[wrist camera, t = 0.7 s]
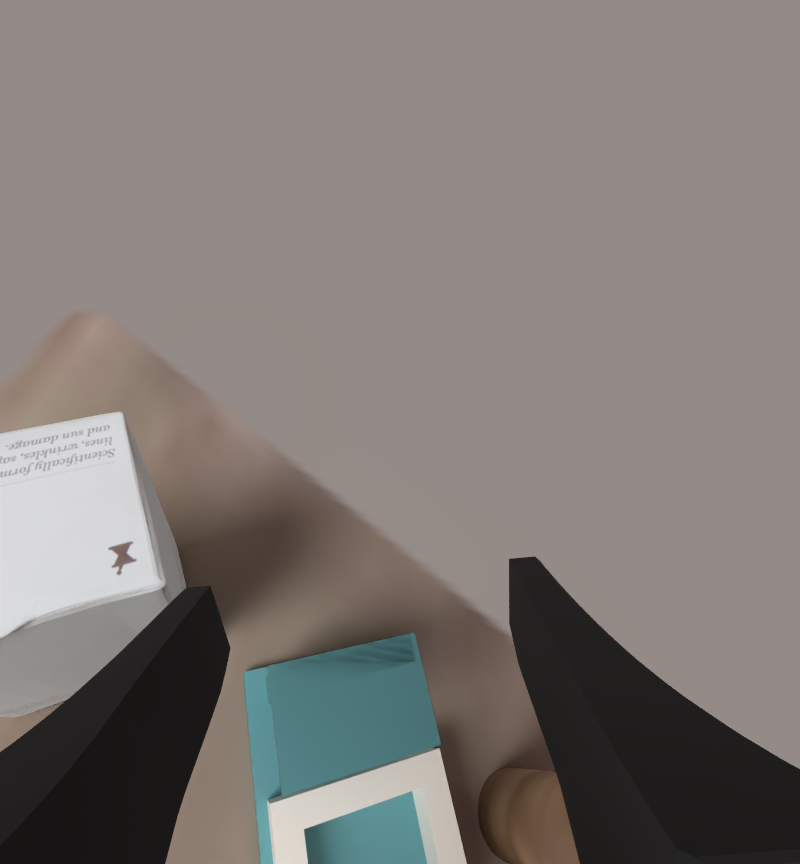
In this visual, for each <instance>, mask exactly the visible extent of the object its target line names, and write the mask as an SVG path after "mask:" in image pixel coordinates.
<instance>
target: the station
mask: <svg viewBox="0 0 800 864" xmlns="http://www.w3.org/2000/svg"><path fill="white" fill-rule="evenodd" d="M243 674H244V685H245V696H246V707H247V718H248V730H249V741H250V752H251V763H252V774H253V786H254V797H255V808H256V819H257V830H258V841H259V853H260V864H467V862H466V858H465V854H464V850H463V845H462V841H461V837H460V833H459V828H458V824H457V820H456V816H455V812H454V807H453V803H452V799H451V795H450V790H449V786H448V782H447V778H446V773H445V769H444V765H443V761H442V757H441V752H440V748H433V747H436V746H439V745H441V741H440V737H439V733H438V729H437V725H436V720H435V716H434V712H433V708H432V704H431V700H430V695H429V691H428V687H427V683H426V679H425V674H424V670H423V666H422V662H421V658H420V653H419V649H418V645H417V641H416V637H415V632H413V633H409V634H405V635H400V636H396V637H391V638H387V639H383V640H378V641H374V642H370V643H365V644H361V645H356V646H352V647H348V648H343V649H339V650H335V651H330V652H326V653H321V654H317V655H313V656H308V657H304V658H300V659H295V660H291V661H286V662H282V663H278V664H273V665H269V666H268V667H263V668H259V669H255V670H250V671H246V672H244V673H243Z"/></svg>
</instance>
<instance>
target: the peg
mask: <svg viewBox="0 0 800 864" xmlns="http://www.w3.org/2000/svg"><path fill="white" fill-rule="evenodd" d="M478 818H479V824H480V829H481V832H482V835H483V837H484V840H485V841H486V843H487V845H488V846H489V848H490V849H491V851H492V852H493V853H494V854H495V855H496V856H497V857H499V858H500V859H502V860H503V861H505V862H508V863H510V864H580V862H579V858H578V854H577V850H576V846H575V842H574V838H573V834H572V830H571V826H570V822H569V818H568V815H567V811H566V807H565V803H564V799H563V795H562V791H561V787H560V784H559V780H558V777H557V774H556V771H545V770H535V769H524V768H514V767H506V768H502V769H499V770H497V771H496V772H494V773H493V774H492V775H491V776H490V777H489V778H488V779H487V781H486V782H485V784H484V786H483V788H482V790H481V794H480V798H479V804H478Z"/></svg>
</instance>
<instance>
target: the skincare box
mask: <svg viewBox="0 0 800 864" xmlns="http://www.w3.org/2000/svg"><path fill="white" fill-rule="evenodd" d="M185 588H186V583H185V579H184V574H183V570H182V566H181V562H180V557H179V553H178V549H177V545H176V542H175V540H174V537H173V534H172V531H171V529H170V526H169V524H168V521H167V519H166V516H165V514H164V512H163V509H162V507H161V504H160V502H159V499H158V496H157V494H156V491H155V488H154V486H153V483H152V481H151V478H150V475H149V473H148V470H147V468H146V465H145V462H144V460H143V458H142V455H141V453H140V450H139V448H138V445H137V443H136V440H135V438H134V436H133V433H132V431H131V429H130V426H129V424H128V422H127V420H126V417H125V415H124V413H123V412H114V413H107V414H102V415H96V416H91V417H85V418H80V419H75V420H70V421H64V422H59V423H54V424H49V425H43V426H38V427H32V428H26V429H21V430H15V431H10V432H5V433H0V717H14V718H15V717H18V716H22V715H26V714H29V713H32V712H35V711H37V710H40V709H43V708H46V707H48V706H51V705H54V704H57V703H59V702H62V701H65V700H68V699H69V698H70V697H71V696H72V695H73V694H75V693H76V692H77V691H78V690H79V689H80V688H81V687H82V686H83V685H85V684H86V683H87V682H88V681H89V680H90V679H91V678H92V677H93V676H94V675H96V674H97V673H98V672H99V671H100V670H101V669H102V668H103V667H104V666H106V665H107V664H108V663H109V662H110V661H111V660H112V659H113V658H114V657H115V656H116V655H117V654H118V653H120V652H121V651H122V650H123V649H124V648H125V647H126V646H127V645H128V644H129V643H130V642H131V641H132V640H133V639H134V638H135V637H136V636H137V635H138V634H139V633H140V632H141V631H142V630H143V629H144V628H145V627H146V626H147V625H148V624H149V623H150V622H151V621H152V620H153V619H154V618H155V617H156V616H157V615H158V614H159V613H160V612H161V611H162V610H163V609H164V608H165V607H166V606H167V605H168V604H169V603H170V602H171V601H172V600H173V599H175V598H176V597H177V596H178V595H179V594H180V593H181V592H182V591H183V590H184V589H185Z"/></svg>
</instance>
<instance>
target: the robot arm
mask: <svg viewBox="0 0 800 864" xmlns="http://www.w3.org/2000/svg"><path fill="white" fill-rule="evenodd" d="M509 604H510V605H509V610H510V611H509V613H510V614H509V616H510V618H509V620H510V621H509V623H510V628H511V632H512V637H513V641H514V646H515V650H516V654H517V658H518V663H519V666H520V669H521V672H522V675H523V678H524V681H525V684H526V687H527V690H528V693H529V695H530V698H531V701H532V704H533V707H534V710H535V713H536V715H537V718H538V721H539V724H540V727H541V730H542V733H543V735H544V738H545V741H546V744H547V747H548V750H549V752H550V755H551V758H552V761H553V764H554V767H555V771H556V774H557V777H558V780H559V784H560V787H561V791H562V795H563V799H564V803H565V807H566V811H567V815H568V818H569V822H570V826H571V830H572V834H573V838H574V842H575V846H576V850H577V854H578V858H579V862H580V864H800V769H798V768H796V767H795V766H793V765H791V764H789V763H787V762H786V761H784V760H782V759H780V758H779V757H777V756H775V755H774V754H772V753H770V752H769V751H767V750H765V749H764V748H762V747H760V746H759V745H757V744H755V743H754V742H752V741H750V740H749V739H747V738H745V737H744V736H742V735H741V734H739V733H737V732H736V731H734V730H733V729H731V728H730V727H728V726H726V725H725V724H724V723H722V722H721V721H719V720H718V719H716V718H715V717H713V716H712V715H710V714H709V713H707V712H706V711H704V710H703V709H701V708H700V707H698V706H697V705H696V704H694V703H693V702H691V701H689V700H688V699H687V698H685V697H684V696H683V695H681V694H680V693H679V692H677V691H676V690H675V689H673V688H672V687H671V686H669V685H668V684H667V683H665V682H664V681H663V680H662V679H660V678H659V677H658V676H656V675H655V674H654V673H653V672H651V671H650V670H649V669H648V668H646V667H645V666H644V665H643V664H642V663H640V662H639V661H638V660H637V659H636V658H635V657H633V656H632V655H631V654H630V653H629V652H628V651H626V650H625V649H624V648H623V647H622V646H621V645H620V644H619V643H618V642H617V641H615V640H614V639H613V638H612V637H611V636H610V635H609V634H608V633H607V632H606V631H605V630H604V629H603V628H602V627H601V626H599V625H598V624H597V623H596V622H595V621H594V620H593V619H592V618H591V617H590V616H589V615H588V614H587V613H586V612H585V611H584V610H583V608H582V607H580V606H579V604H578V603H577V602H576V601H575V600H574V599H573V598H572V597H571V596H570V595H569V594H568V593H567V592H566V591H565V589H564V588H563V587H562V586H561V585H560V584H559V583H558V582H557V581H556V579H555V578H554V577H553V576H552V575H551V574H550V572H549V571H548V570H547V569H546V568H545V567H544V566H543V564H542V563H541V562H540V561H539V560H538V559H537V558H536V557H525V558H515V559H509ZM229 652H230V646H229V642H228V639H227V636H226V633H225V630H224V627H223V624H222V621H221V618H220V614H219V611H218V608H217V605H216V602H215V599H214V596H213V593H212V590H211V586H205V587H194V588H185V589H184V590H183V591H182V592H181V593H180V594H179V595H178V596H177V597H176V598H175V599H173V600H172V601H171V602H170V603H169V604H168V605H167V606H166V607H165V608H164V609H163V610H162V611H161V612H160V613H159V614H158V615H157V616H156V617H155V618H154V619H153V620H152V621H151V622H150V623H149V624H148V625H147V626H146V627H145V628H144V629H143V630H142V631H141V632H140V633H139V634H138V635H137V636H136V637H135V638H134V639H133V640H132V641H131V642H130V643H129V644H128V645H127V646H126V647H125V648H124V649H123V650H122V651H121V652H120V653H118V654H117V655H116V656H115V657H114V658H113V659H112V660H111V661H110V662H109V663H108V664H107V665H106V666H104V667H103V668H102V669H101V670H100V671H99V672H98V673H97V674H96V675H94V676H93V677H92V678H91V679H90V680H89V681H88V682H87V683H86V684H85V685H83V686H82V687H81V688H80V689H79V690H78V691H77V692H76V693H75V694H73V695H72V696H71V697H70V698H69V699H68V700H66V701H65V702H64V703H63V704H62V705H60V706H59V707H58V708H57V709H56V710H54V711H53V712H52V713H51V714H50V715H48V716H47V717H46V718H45V719H43V720H42V721H41V722H39V723H38V724H37V725H36V726H34V727H33V728H32V729H31V730H29V731H28V732H27V733H26V734H24V735H23V736H22V737H20V738H19V739H18V740H16V741H15V742H14V743H12V744H11V745H10V746H8V747H7V748H5V749H4V750H3V751H1V752H0V864H165V862H166V858H167V854H168V850H169V847H170V843H171V839H172V835H173V831H174V827H175V824H176V820H177V816H178V813H179V810H180V807H181V803H182V800H183V797H184V794H185V791H186V788H187V785H188V783H189V780H190V777H191V774H192V771H193V769H194V766H195V763H196V760H197V757H198V755H199V752H200V749H201V746H202V743H203V741H204V738H205V735H206V732H207V730H208V727H209V724H210V721H211V718H212V715H213V712H214V710H215V707H216V704H217V701H218V698H219V695H220V692H221V688H222V684H223V680H224V676H225V672H226V667H227V662H228V657H229Z"/></svg>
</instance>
